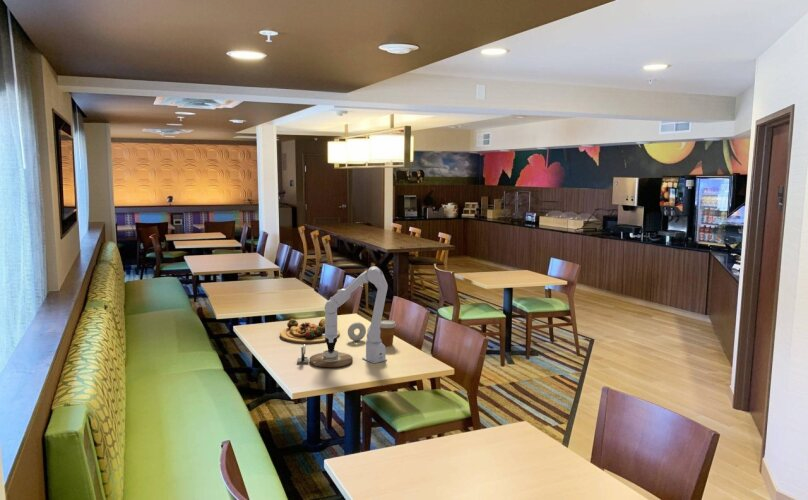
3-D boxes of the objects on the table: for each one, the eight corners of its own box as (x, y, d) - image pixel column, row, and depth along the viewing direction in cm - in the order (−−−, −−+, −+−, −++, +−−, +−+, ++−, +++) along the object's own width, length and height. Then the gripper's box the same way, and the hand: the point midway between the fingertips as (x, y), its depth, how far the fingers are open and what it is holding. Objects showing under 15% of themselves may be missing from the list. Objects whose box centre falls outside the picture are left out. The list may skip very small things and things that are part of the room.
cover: (341, 359, 273) (341, 352, 272) (328, 361, 268) (328, 355, 268) (333, 355, 278) (333, 349, 278) (320, 357, 274) (320, 351, 273)
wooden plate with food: (268, 334, 318) (268, 320, 317) (317, 324, 340) (317, 311, 338) (300, 349, 295) (300, 333, 294) (351, 338, 316) (351, 323, 315)
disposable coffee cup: (379, 347, 297) (379, 324, 295) (375, 342, 306) (375, 320, 304) (397, 346, 299) (398, 323, 298) (393, 341, 309) (393, 319, 307)
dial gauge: (297, 364, 269) (297, 346, 268) (297, 360, 274) (297, 343, 273) (308, 363, 270) (308, 346, 269) (308, 360, 275) (308, 342, 274)
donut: (364, 339, 312) (364, 320, 311) (366, 340, 309) (367, 322, 308) (346, 340, 308) (346, 322, 307) (348, 342, 305) (348, 323, 304)
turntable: (361, 361, 272) (361, 359, 272) (324, 370, 260) (324, 368, 259) (336, 351, 288) (336, 349, 287) (301, 359, 275) (301, 357, 274)
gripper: (322, 321, 283) (322, 348, 284) (322, 329, 268) (322, 358, 270) (337, 321, 284) (337, 348, 285) (337, 329, 269) (337, 357, 271)
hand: (331, 353), depth 278 cm, fingers closed
